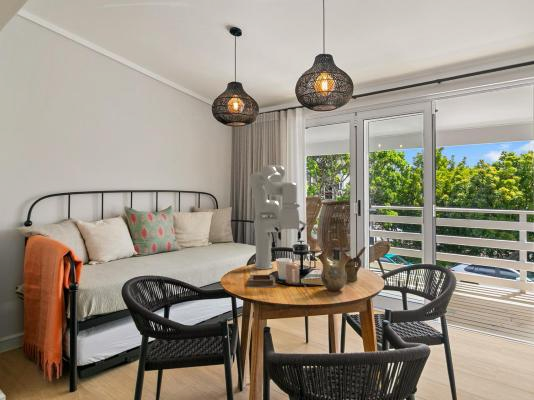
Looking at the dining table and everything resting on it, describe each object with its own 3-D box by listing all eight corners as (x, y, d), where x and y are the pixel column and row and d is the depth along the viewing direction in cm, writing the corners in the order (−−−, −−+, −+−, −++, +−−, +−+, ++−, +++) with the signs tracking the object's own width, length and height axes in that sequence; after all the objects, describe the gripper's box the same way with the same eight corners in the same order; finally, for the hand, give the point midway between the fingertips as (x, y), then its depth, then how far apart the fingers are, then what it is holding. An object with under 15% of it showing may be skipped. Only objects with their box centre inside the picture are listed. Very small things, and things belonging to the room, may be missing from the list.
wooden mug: (366, 282, 173) (366, 248, 172) (340, 281, 175) (340, 247, 175) (364, 278, 182) (364, 245, 181) (339, 277, 184) (339, 244, 183)
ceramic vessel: (316, 292, 157) (316, 239, 156) (316, 287, 166) (316, 237, 165) (352, 293, 155) (352, 240, 154) (350, 287, 164) (350, 237, 163)
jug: (285, 282, 173) (285, 263, 173) (298, 282, 174) (298, 263, 173) (286, 287, 164) (286, 267, 164) (300, 287, 164) (300, 267, 164)
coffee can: (330, 273, 193) (330, 249, 193) (335, 269, 202) (335, 246, 202) (348, 275, 188) (348, 250, 188) (352, 271, 198) (352, 247, 197)
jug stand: (248, 280, 180) (248, 272, 180) (274, 279, 180) (274, 272, 180) (246, 291, 160) (246, 283, 160) (275, 290, 160) (275, 282, 160)
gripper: (305, 206, 174) (305, 238, 175) (272, 206, 174) (272, 238, 175) (307, 207, 167) (307, 241, 168) (272, 207, 167) (272, 241, 167)
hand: (289, 239), depth 171 cm, fingers open, 9 cm apart
